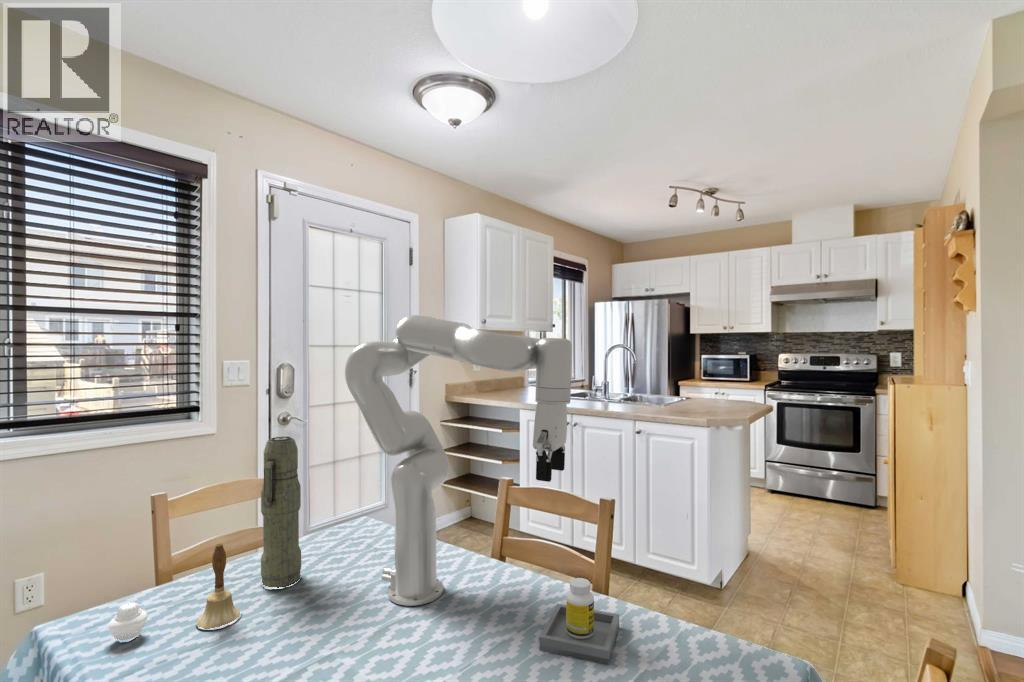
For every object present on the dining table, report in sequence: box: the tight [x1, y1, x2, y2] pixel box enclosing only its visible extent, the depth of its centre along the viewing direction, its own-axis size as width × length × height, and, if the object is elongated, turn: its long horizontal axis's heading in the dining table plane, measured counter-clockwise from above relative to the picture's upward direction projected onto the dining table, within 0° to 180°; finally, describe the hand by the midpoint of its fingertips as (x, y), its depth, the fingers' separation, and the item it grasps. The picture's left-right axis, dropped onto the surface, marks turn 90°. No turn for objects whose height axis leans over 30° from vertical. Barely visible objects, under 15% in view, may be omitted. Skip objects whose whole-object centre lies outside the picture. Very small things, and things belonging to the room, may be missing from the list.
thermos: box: [260, 436, 302, 588], centre depth 124 cm, size 9×12×35 cm
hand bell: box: [196, 543, 241, 629], centre depth 106 cm, size 8×8×16 cm
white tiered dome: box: [108, 602, 149, 641], centre depth 100 cm, size 6×6×7 cm
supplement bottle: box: [565, 577, 595, 639], centre depth 99 cm, size 5×5×10 cm
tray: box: [538, 603, 620, 666], centre depth 99 cm, size 13×13×2 cm
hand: (550, 474), depth 109 cm, fingers open, 9 cm apart
